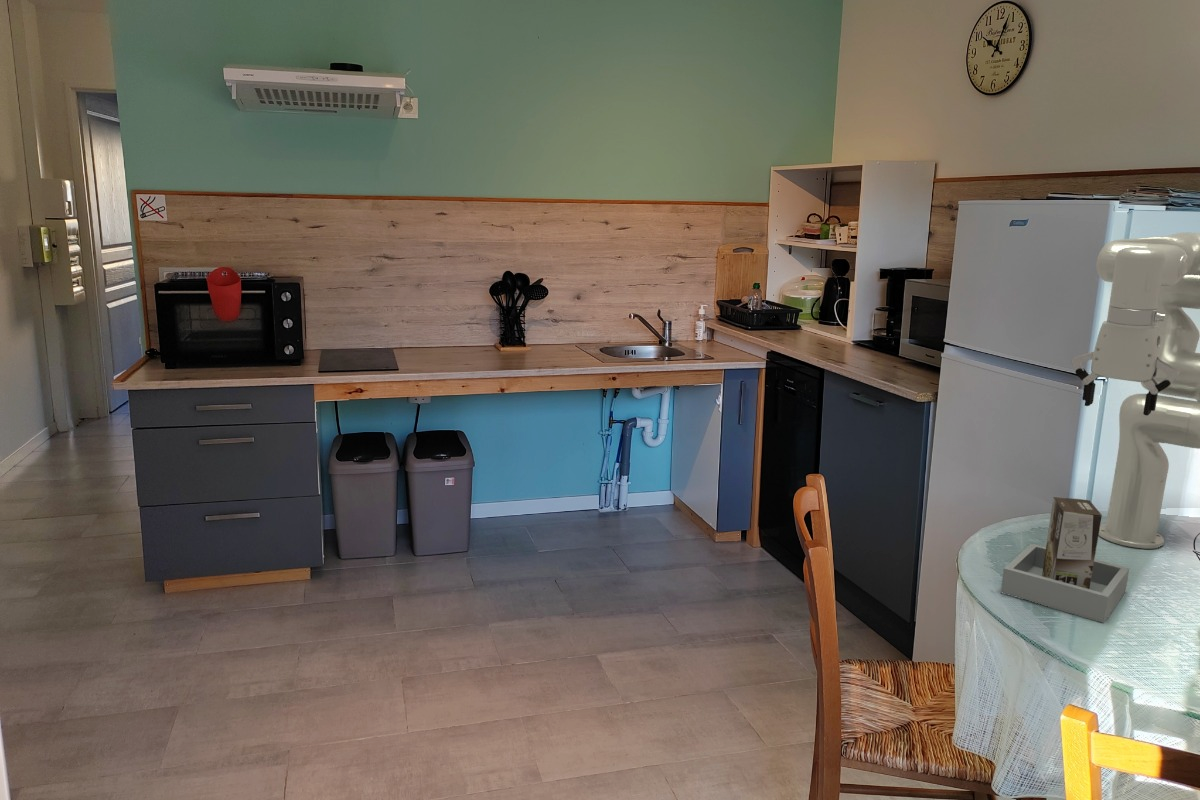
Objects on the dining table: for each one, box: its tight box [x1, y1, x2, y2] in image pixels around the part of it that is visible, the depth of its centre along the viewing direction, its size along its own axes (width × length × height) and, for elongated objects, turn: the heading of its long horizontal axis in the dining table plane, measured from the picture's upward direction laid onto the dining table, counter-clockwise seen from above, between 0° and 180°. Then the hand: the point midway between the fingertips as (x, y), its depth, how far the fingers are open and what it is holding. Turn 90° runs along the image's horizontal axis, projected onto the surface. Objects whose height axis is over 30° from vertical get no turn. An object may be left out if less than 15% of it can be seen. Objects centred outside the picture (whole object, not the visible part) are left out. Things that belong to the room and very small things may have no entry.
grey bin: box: [1000, 543, 1130, 624], centre depth 166 cm, size 17×17×5 cm
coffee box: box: [1042, 496, 1103, 589], centre depth 165 cm, size 9×6×16 cm
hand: (1117, 409), depth 167 cm, fingers open, 9 cm apart
